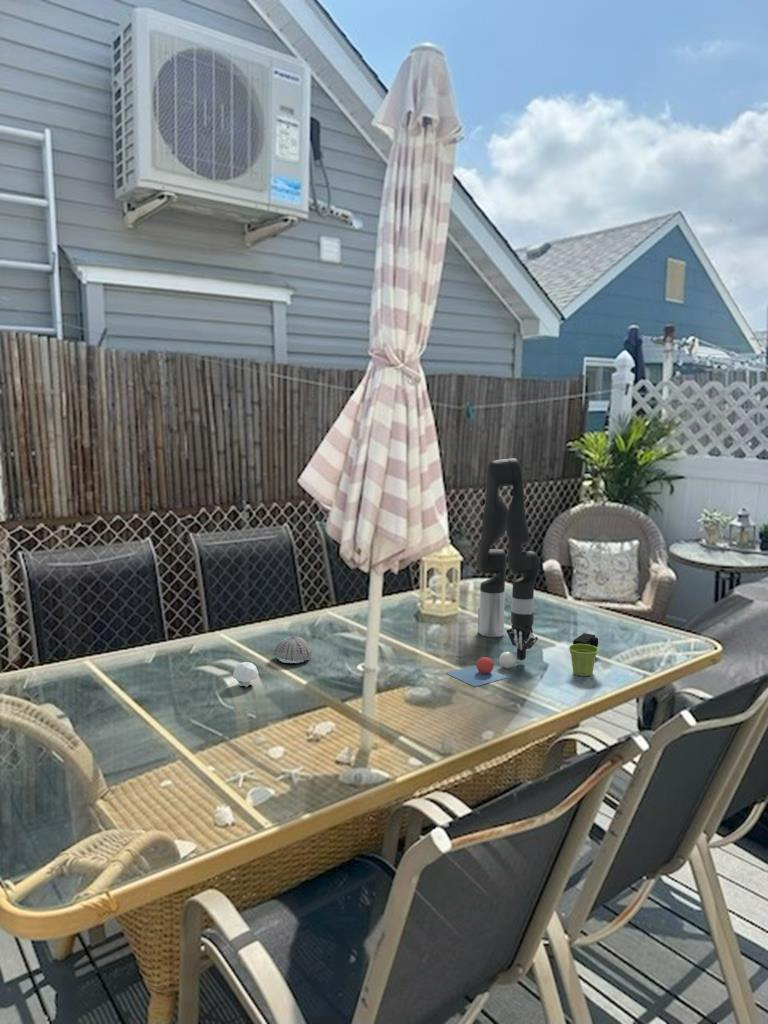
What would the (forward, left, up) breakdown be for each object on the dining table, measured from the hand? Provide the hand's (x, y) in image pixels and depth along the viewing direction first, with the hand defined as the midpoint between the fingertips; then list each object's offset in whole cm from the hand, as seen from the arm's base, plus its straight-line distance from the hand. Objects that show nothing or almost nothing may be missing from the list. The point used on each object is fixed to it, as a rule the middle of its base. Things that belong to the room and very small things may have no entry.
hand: (521, 659), depth 244 cm
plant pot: (+18, +10, -2) cm, 21 cm away
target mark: (0, -20, -2) cm, 20 cm away
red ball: (0, -16, +1) cm, 16 cm away
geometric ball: (-34, -86, -2) cm, 92 cm away
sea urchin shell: (-48, -62, -2) cm, 78 cm away
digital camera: (+8, +24, -2) cm, 25 cm away
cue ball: (0, -7, +1) cm, 7 cm away
